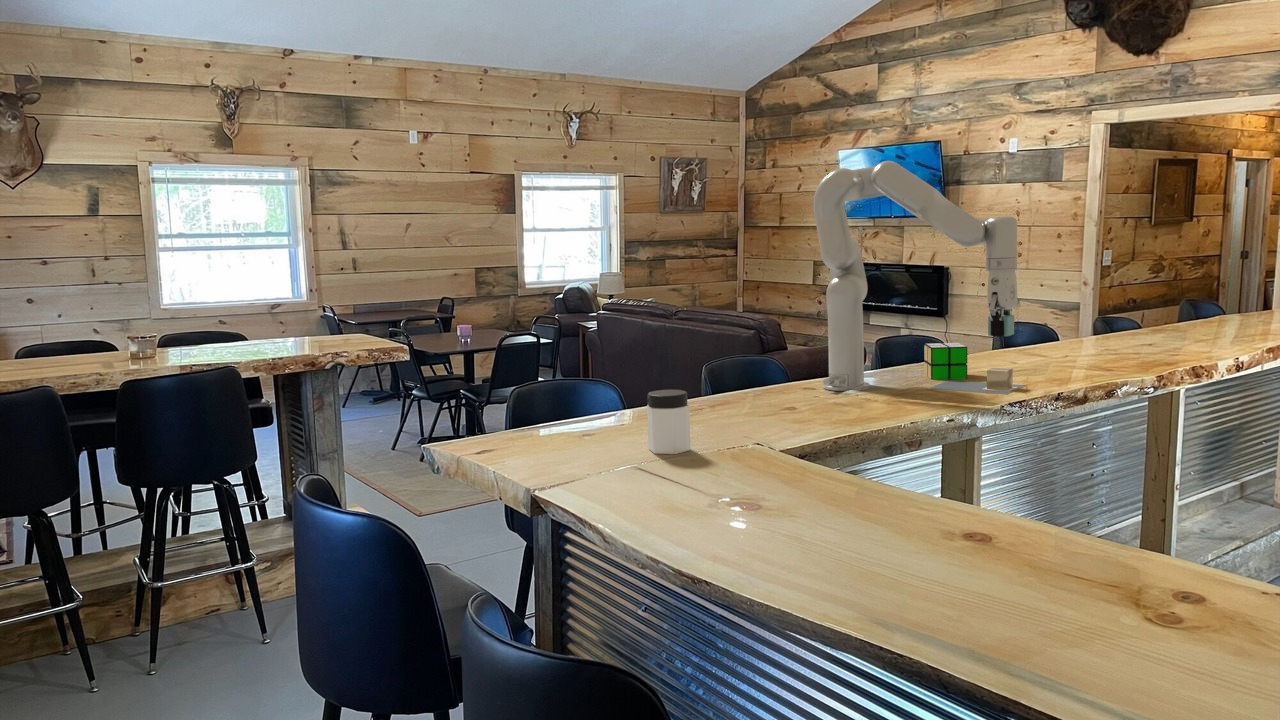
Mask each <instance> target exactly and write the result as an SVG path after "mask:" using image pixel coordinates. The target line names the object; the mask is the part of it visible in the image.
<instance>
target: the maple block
mask: <svg viewBox="0 0 1280 720" xmlns="http://www.w3.org/2000/svg"><path fill="white" fill-rule="evenodd" d="M1013 371H1014V368H1010V367H1009V368H1008V367H991V368H989V369H987V370H986V383H987V389H995V390H1008V389H1010V388H1012V386H1013V377H1014V376H1013V375H1014V374H1013Z"/></svg>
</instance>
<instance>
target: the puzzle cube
mask: <svg viewBox="0 0 1280 720" xmlns="http://www.w3.org/2000/svg"><path fill="white" fill-rule="evenodd" d="M923 351H924V352H923V353H924V355H923V357H924V361H923V363H924V364H923V365H924V366H923V367H924V369H923V370H924V371H923V373H924V374H923V375H924V376H926V377H927V378H929V380H930V381H931V380H966V379H968V346H966V345H964V344H962V343H960V342H944V343H940V342H939V343H936V342H935V343H924V348H923Z"/></svg>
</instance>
